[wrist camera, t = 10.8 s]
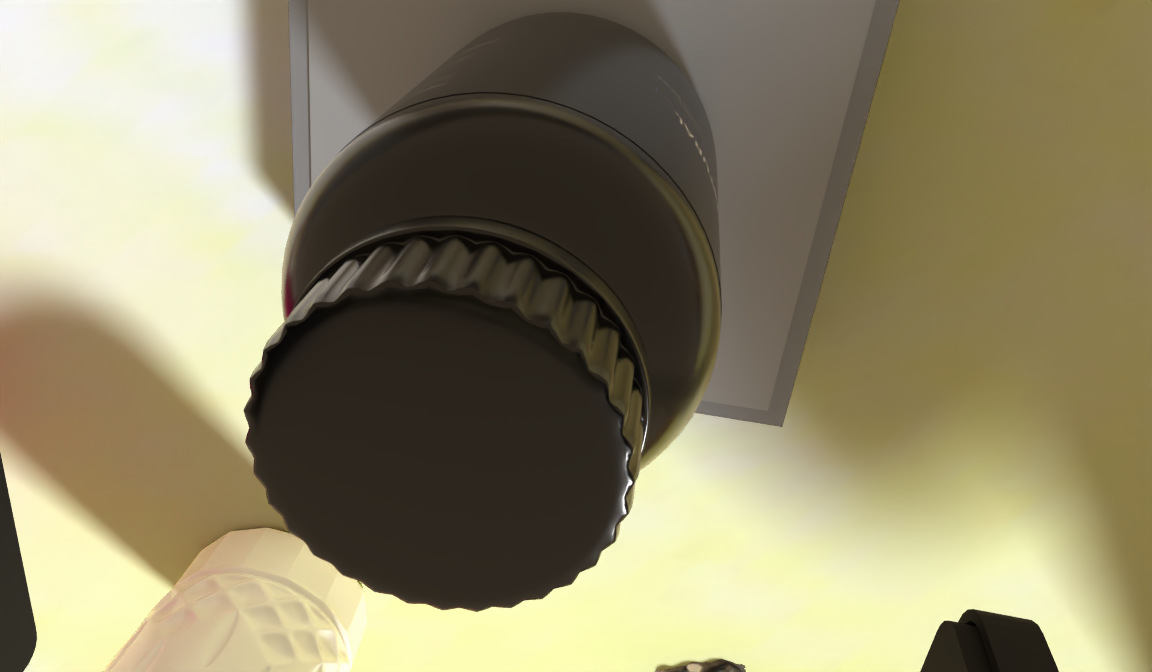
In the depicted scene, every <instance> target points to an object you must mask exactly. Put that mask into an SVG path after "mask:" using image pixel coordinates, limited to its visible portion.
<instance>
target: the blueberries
mask: <svg viewBox="0 0 1152 672" xmlns="http://www.w3.org/2000/svg"><path fill="white" fill-rule="evenodd" d="M744 668H745V666H744V665H742V664H740V665H739V664H735V663H733V662H730V661H726V660H723V659H721V660H717V661H715V662H711V663H708V662H705V663H699V662H692V663H690V664H688V665H686V666H680V667H676V668H674V669H668V670H664V671H661V670H656V671H655V672H746V671H745V669H744Z"/></svg>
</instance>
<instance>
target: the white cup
mask: <svg viewBox="0 0 1152 672" xmlns="http://www.w3.org/2000/svg"><path fill="white" fill-rule="evenodd" d="M367 622H368V619H367V612H366V604H365V596H364V590H363V589H362V587H361V586H360V584H359V583H358V582H357V580H355V579H351V578H348V577H345V576H343V575H342V574H340V573H339V572H338V571H337V570H336V568H335V567H334V566H333V565H332V564H331V563H329V562H326V561H324V560H322V559H320V558H318V557H316V556H314V555H313V554H312V553H311V551H310V550H309V548H308V546H307V545H306V543H305V542H304V541H302V540H301V539H300V538H298V537H296V536H295V535H293V534H291V533H287V532H283V531H279V530H276V529H272V528H258V529H248V530H238V531H230V532H228V533H227V534H225V535H224V536H222V537H220V538H219V539H217V540H216V541H214V542H213V543H211V544H210V545H208V546H207V547H205V548H204V549H202V550H201V551H200V553H199V554H198V555H197V557H196V558H195V559H194V561H193V562H192V563H191V564H190V566H189V567H188V568H187V570H186V571H185V572H184V574H183V575H182V576H181V578H180V579H179V580H178V582H177V583H176V584H175V586H174V587H173V588H172V590H171V591H170V592H169V593H168V594H167V595H166V596H165V597H164V598H163V599H162V600H161V601H160V602H159V603H158V604H157V605H156V606H155V607H154V608H153V609H152V610H151V612H150V613H149V614H148V615H147V617H146V618H145V619H144V621H143V622H142V623H141V625H140V626H139V628H138V629H137V630H136V632H135V633H134V634H133V635H132V636H131V637H130V638H129V639H128V640H127V642H126V643H125V644H124V645H123V646H122V647H121V649H120V650H119V651H118V652H117V654H116V655H115V656H114V657H113V659H112V660H111V661H110V663H109V664H108V665H107V666H106V668H105V669H104V670H103V672H350V670H351V667H352V664H353V661H354V659H355V656H356V653H357V651H358V648H359V645H360V642H361V640H362V637H363V634H364V631H365V629H366V626H367Z"/></svg>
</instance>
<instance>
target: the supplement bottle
mask: <svg viewBox="0 0 1152 672" xmlns="http://www.w3.org/2000/svg"><path fill="white" fill-rule="evenodd" d="M281 293H282V307H283V316H284V323H283V324H282V325H281V326H280V327H279V328H278V330H277V331H276V332H275V333H274V334H273V335H272V336H271V338H270V339H269V340H268V342H267V343H266V345H265V347H264V350H263V356H262V361H261V362H260V363H259V365H258V366H257V367H256V368H255V370H254V371H253V373H252V375H251V377H250V389H251V394H252V395H251V397H250V399H249V400H248V402H247V404H246V406H245V408H244V413H245V417H246V420H247V421H248V424H249V431H248V433H247V437H246V441H245V442H246V445H247V447H248V449H249V450H250V452H251V453H252V455H253V457H254V474H255V476H256V477H257V479H258V480H259V481H260V482H261V484H262V485H263V486H264V487H265V488H266V495H267V499H268V503H269V504H270V505H271V506H272V507H273V508H274V509H275V510H276V511H277V512H278V513H279V514H280V515H281V516H282V517H283V520H284V522H285V525H286V527H287V529H288V531H289V532H291V533H292V534H293V535H295V536H296V537H298V538H300V539H301V540H302V541H304V542H305V543H306V545H307V546H308V548H309V550H310V551H311V553H312V554H313V555H314V556H316V557H318V558H320V559H322V560H324V561H326V562H329V563H331V564H332V565H333V566H334V567H335V568H336V570H337V571H338V572H339V573H340V574H342V575H343V576H345V577H348V578H351V579H355V580H358V581H361V582H362V583H363V584H365V585H366V586H367V587H368V588H370V589H371V590H373V591H374V592H378V593H384V594H391V595H394V596H396V597H398V598H399V599H401V600H402V601H404V602H406V603H411V604H428V605H431V606H433V607H435V608H438V609H441V610H448V609H455V608H463V609H467V610H471V611H476V612H478V611H481V610H485V609H487V608H490V607H502V608H512V607H514V606H516V605H518V604H519V603H521V602H522V601H524V600H536V599H543V598H544V597H545V596H547V595H548V594H549V593H550V592H551V591H552V590H553V589H555V588H559V587H564V586H568V585H571V584H572V583H573V582H574V580H575V579H576V577H577V576H578V574H579V573H580V572H582V571H584V570H586V569H589V568H591V567H593V566H595V565H596V564H597V562H598V560H599V557H600V555H601V552H602V551H603V550H604V549H606V548H607V547H609V546H610V545H611V544H613V543H614V542H615V541H616V539H617V537H618V534H619V530H620V523H621V521H622V520H624V518H625V517H626V516H627V515H628V514H629V512H630V510H631V507H632V504H633V497H634V489H635V481H636V479H637V477H638V474H639V471H640V470H641V469H643V468H644V467H645V466H647V465H648V464H650V463H651V462H652V461H653V460H655V459H656V458H657V457H658V456H659V455H660V454H661V453H662V452H663V451H664V450H666V449H667V448H668V447H669V445H670V444H671V443H672V442H673V441H674V440H675V439H676V438H677V436H678V435H679V434H680V433H681V432H682V430H683V429H684V428H685V426H686V425H687V423H688V422H689V421H690V419H691V418H692V416H693V414H694V413H695V411H696V409H697V407H698V406H699V404H700V402H701V400H702V398H703V396H704V394H705V391H706V389H707V387H708V384H709V382H710V379H711V376H712V373H713V369H714V366H715V363H716V358H717V352H718V346H719V340H720V330H721V316H722V295H721V265H720V236H719V208H718V180H717V162H716V152H715V145H714V138H713V134H712V130H711V126H710V123H709V120H708V117H707V115H706V112H705V109H704V106H703V104H702V102H701V100H700V98H699V96H698V94H697V92H696V91H695V89H694V87H693V86H692V84H691V82H690V81H689V79H688V78H687V77H686V75H685V74H684V73H683V71H682V70H681V69H680V67H679V66H678V65H677V64H676V63H675V62H674V61H673V60H672V59H671V58H670V57H669V56H668V55H667V54H666V53H665V52H664V51H662V50H661V49H660V48H659V47H658V46H657V45H655V44H654V43H653V42H651V41H650V40H648V39H647V38H645V37H644V36H642V35H641V34H639V33H637V32H635V31H634V30H632V29H630V28H628V27H625V26H623V25H621V24H619V23H616V22H613V21H610V20H607V19H604V18H601V17H597V16H592V15H588V14H581V13H572V12H551V13H540V14H534V15H530V16H525V17H521V18H518V19H515V20H512V21H509V22H506V23H504V24H501V25H499V26H497V27H495V28H492V29H491V30H489V31H487V32H485V33H484V34H482V35H480V36H478V37H477V38H476V39H474V40H473V41H472V42H470V43H469V44H467V45H466V46H465V47H463V48H462V49H460V50H459V51H458V52H456V53H455V54H454V55H453V56H452V57H450V58H449V59H448V60H447V61H446V62H444V63H443V64H442V65H441V66H440V67H438V68H437V69H436V70H435V71H434V72H432V73H431V74H430V75H429V76H428V77H426V78H425V79H424V80H423V81H422V82H420V83H419V84H418V85H417V86H416V87H414V88H413V89H412V90H411V91H410V92H408V93H407V94H406V95H405V96H404V97H402V98H401V99H400V100H399V101H398V102H396V103H395V104H394V105H393V106H392V107H390V108H389V109H388V110H387V111H386V112H384V113H383V114H382V115H381V116H380V117H379V118H377V119H376V120H375V121H374V122H373V123H371V124H370V125H369V126H368V127H367V128H365V129H364V130H363V131H362V132H361V133H359V134H358V135H357V136H356V137H355V138H354V139H353V140H352V141H351V142H350V143H348V144H347V145H346V146H345V147H344V148H343V149H342V150H341V151H340V152H339V153H338V154H337V155H336V156H335V157H334V159H333V160H332V161H331V162H330V163H329V164H328V166H327V167H326V168H325V169H324V170H323V171H322V172H321V174H320V175H319V176H318V177H317V179H316V180H315V182H314V183H313V185H312V186H311V188H310V189H309V191H308V192H307V194H306V196H305V198H304V200H303V201H302V203H301V205H300V207H299V209H298V211H297V214H296V217H295V219H294V222H293V224H292V227H291V230H290V233H289V237H288V241H287V244H286V248H285V254H284V260H283V267H282V290H281Z"/></svg>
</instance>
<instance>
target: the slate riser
mask: <svg viewBox="0 0 1152 672" xmlns="http://www.w3.org/2000/svg"><path fill="white" fill-rule="evenodd" d="M288 3H289V38H290V74H291V109H292V144H293V179H294V214H295V217H296V214H297V211H298V209H299V207H300V205H301V203H302V201H303V200H304V198H305V196H306V194H307V192H308V191H309V189H310V188H311V186H312V185H313V183H314V182H315V180H316V179H317V177H318V176H319V175H320V174H321V172H322V171H323V170H324V169H325V168H326V167H327V166H328V164H329V163H330V162H331V161H332V160H333V159H334V157H335V156H336V155H337V154H338V153H339V152H340V151H341V150H342V149H343V148H344V147H345V146H346V145H347V144H348V143H350V142H351V141H352V140H353V139H354V138H355V137H356V136H357V135H358V134H359V133H361V132H362V131H363V130H364V129H365V128H367V127H368V126H369V125H370V124H371V123H373V122H374V121H375V120H376V119H377V118H379V117H380V116H381V115H382V114H383V113H384V112H386V111H387V110H388V109H389V108H390V107H392V106H393V105H394V104H395V103H396V102H398V101H399V100H400V99H401V98H402V97H404V96H405V95H406V94H407V93H408V92H410V91H411V90H412V89H413V88H414V87H416V86H417V85H418V84H419V83H420V82H422V81H423V80H424V79H425V78H426V77H428V76H429V75H430V74H431V73H432V72H434V71H435V70H436V69H437V68H438V67H440V66H441V65H442V64H443V63H444V62H446V61H447V60H448V59H449V58H450V57H452V56H453V55H454V54H455V53H456V52H458V51H459V50H460V49H462V48H463V47H465V46H466V45H467V44H469V43H470V42H472V41H473V40H474V39H476V38H477V37H478V36H480V35H482V34H484V33H485V32H487V31H489V30H491V29H492V28H495V27H497V26H499V25H501V24H504V23H506V22H509V21H512V20H515V19H518V18H521V17H525V16H530V15H534V14H540V13H551V12H572V13H581V14H588V15H592V16H597V17H601V18H604V19H607V20H610V21H613V22H616V23H619V24H621V25H623V26H625V27H628V28H630V29H632V30H634V31H635V32H637V33H639V34H641V35H642V36H644V37H645V38H647V39H648V40H650V41H651V42H653V43H654V44H655V45H657V46H658V47H659V48H660V49H661V50H662V51H664V52H665V53H666V54H667V55H668V56H669V57H670V58H671V59H672V60H673V61H674V62H675V63H676V64H677V65H678V66H679V67H680V69H681V70H682V71H683V73H684V74H685V75H686V77H687V78H688V79H689V81H690V82H691V84H692V86H693V87H694V89H695V91H696V92H697V94H698V96H699V98H700V100H701V102H702V104H703V106H704V109H705V112H706V115H707V117H708V120H709V123H710V126H711V130H712V134H713V138H714V145H715V152H716V162H717V180H718V208H719V236H720V265H721V295H722V316H721V330H720V340H719V346H718V352H717V358H716V363H715V366H714V369H713V373H712V376H711V379H710V382H709V384H708V387H707V389H706V391H705V394H704V396H703V398H702V400H701V402H700V404H699V406H698V407H697V409H696V411H695V413H700V414H706V415H712V416H719V417H725V418H731V419H737V420H743V421H749V422H756V423H762V424H768V425H774V426H780V427H782V426H783V422H784V418H785V415H786V411H787V407H788V404H789V400H790V397H791V393H792V389H793V386H794V382H795V378H796V375H797V371H798V367H799V364H800V360H801V357H802V353H803V349H804V346H805V342H806V338H807V335H808V331H809V327H810V324H811V320H812V317H813V313H814V309H815V306H816V302H817V298H818V295H819V291H820V287H821V284H822V280H823V277H824V273H825V269H826V266H827V262H828V258H829V255H830V251H831V247H832V244H833V240H834V237H835V233H836V229H837V226H838V222H839V218H840V215H841V211H842V207H843V204H844V200H845V197H846V193H847V189H848V186H849V182H850V178H851V175H852V171H853V167H854V164H855V160H856V157H857V153H858V149H859V146H860V142H861V138H862V135H863V131H864V127H865V124H866V120H867V117H868V113H869V109H870V106H871V102H872V98H873V95H874V91H875V87H876V84H877V80H878V77H879V73H880V69H881V66H882V62H883V58H884V55H885V51H886V47H887V44H888V40H889V37H890V33H891V29H892V26H893V22H894V18H895V15H896V11H897V7H898V4H899V0H288Z"/></svg>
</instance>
